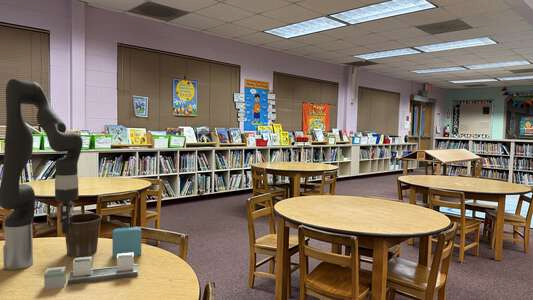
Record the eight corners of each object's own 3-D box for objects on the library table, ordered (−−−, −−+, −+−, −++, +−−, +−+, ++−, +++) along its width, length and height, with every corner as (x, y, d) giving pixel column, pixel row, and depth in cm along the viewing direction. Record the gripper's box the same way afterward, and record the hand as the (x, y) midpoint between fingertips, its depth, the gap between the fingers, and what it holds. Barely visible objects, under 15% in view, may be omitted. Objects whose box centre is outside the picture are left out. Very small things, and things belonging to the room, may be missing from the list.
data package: (140, 251, 163) (141, 226, 162) (141, 255, 159) (141, 229, 158) (112, 254, 159) (112, 228, 158) (112, 258, 154) (112, 231, 154)
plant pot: (101, 256, 156) (101, 221, 155) (59, 261, 150) (58, 224, 148) (102, 245, 171) (102, 212, 170) (64, 248, 164) (64, 214, 163)
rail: (67, 284, 128) (67, 264, 128) (71, 275, 136) (70, 256, 135) (137, 276, 137) (137, 257, 136) (137, 268, 144) (137, 250, 144)
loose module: (44, 289, 124) (44, 272, 124) (47, 284, 128) (46, 267, 128) (63, 287, 126) (63, 270, 126) (66, 282, 130) (65, 265, 130)
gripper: (58, 184, 134) (58, 225, 135) (51, 190, 121) (52, 236, 122) (80, 183, 137) (80, 224, 138) (76, 189, 124) (76, 234, 125)
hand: (67, 230), depth 130 cm, fingers open, 8 cm apart
